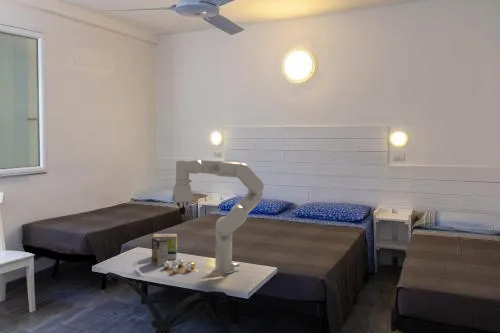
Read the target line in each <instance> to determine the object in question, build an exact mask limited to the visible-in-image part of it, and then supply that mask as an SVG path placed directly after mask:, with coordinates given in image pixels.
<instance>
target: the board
mask: <svg viewBox="0 0 500 333" xmlns="http://www.w3.org/2000/svg"><path fill="white" fill-rule="evenodd" d="M162 269H163V270H164V271H165V272H166V273H167V274H169V276H174V275H182V274H183V275H184V274H189V273H196V272H197V273H198V272H200V270H198V268H196V267H195V269H191V272H186V264H184V267H178V273H177V274H173V273H172V266H169V269H164V267H162Z"/></svg>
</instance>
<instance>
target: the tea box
mask: <svg viewBox="0 0 500 333" xmlns="http://www.w3.org/2000/svg"><path fill="white" fill-rule="evenodd" d="M152 238H164V239H166V240H168V260H177V256H178V233H154V234H153V236H152V237H151V239H152Z"/></svg>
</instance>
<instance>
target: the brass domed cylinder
mask: <svg viewBox="0 0 500 333" xmlns="http://www.w3.org/2000/svg"><path fill="white" fill-rule="evenodd" d="M187 264H191V269H195V268H196V262H195V261H194V262H193V261H188V262H187Z"/></svg>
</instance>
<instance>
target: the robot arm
mask: <svg viewBox="0 0 500 333" xmlns="http://www.w3.org/2000/svg"><path fill="white" fill-rule="evenodd" d="M190 174H209V175H215V176H218V177H227V178H237V179H239V181H240V182H241V183H242V184H243V185H244V186H245V187H246V188H247V189H248V191H247V194H245V195H244V197H242V198H241V199H240V200H239V201H238V202H237V203H236V204H234V205H233V206H231V208H230V210H229V213H227V214H226V215H224V216H221V217H219V218H218V219H217V220H216V223H215V254H214V255H215V257H214V258H215V260H214V261H215V262H214V263H215V264H214V265H215V267H213V268H212V271H214V272H216V273H222V274H223V275H227V274H228V275H230V274H232V272H233V273H234V272H235V268H239V267H240V266H241V265H240V263H236V262H233V261H232V260H233V233H235V231H236V230H238V229H239V228H240V227H241V225H243V224H245V223H244V222H246V220H247V218H248V214H249V213H250V212H252V211H253V210H254V209H255V208H256V206H257V205H258V204H259V203H260V202H261V200H262V196H263V192H264V187H265V186H264V183H263V181H262V179H260V178H259V176H257V175H256V173H254V171H253V170H252V169H251V167H249V165H248V164H246V163H243V162H236V161H235V162H233V161H221V160H217V161H216V160H215V161H213V160H203V159H194V160H185V159H184V160H183V159H180V160H176V162H175V184H174V185H173V190H172V205H176V206H178V208H179V210H178V212H179V214H180V215H181V216H182V215H185V213H186V207H187V206H188V205H191V204H192V186H191V184H190V183H192V179H190ZM229 273H230V274H229Z"/></svg>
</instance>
